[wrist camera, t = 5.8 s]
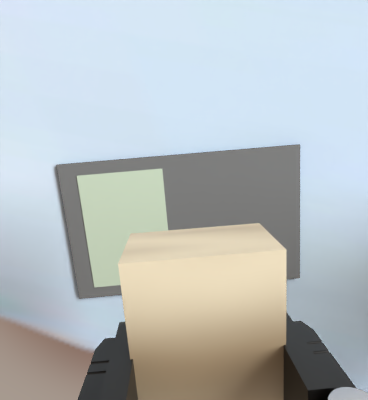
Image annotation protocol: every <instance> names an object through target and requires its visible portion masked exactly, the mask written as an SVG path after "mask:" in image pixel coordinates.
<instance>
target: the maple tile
mask: <svg viewBox="0 0 368 400" xmlns="http://www.w3.org/2000/svg"><path fill="white" fill-rule="evenodd" d="M118 268H119V276H120V284H121V291H122V299H123V307H124V315H125V323H126V331H127V338H128V346H129V354H130V359H133V364H134V372H135V379H136V387H137V395H138V400H284V345H286V249H285V248H284V247H283V246H282V245H281V244H280V243H279V242H278V241H277V240H276V239H275V238H274V237H273V236H272V235H271V234H270V233H269V232H268V231H267V230H266V229H265V228H264V227H263V226H262V225H261V224H260V223H253V224H241V225H229V226H217V227H204V228H192V229H180V230H168V231H155V232H143V233H131V234H130V236H129V239H128V241H127V243H126V246H125V248H124V251H123V253H122V255H121V258H120V260H119V263H118Z"/></svg>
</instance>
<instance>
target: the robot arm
mask: <svg viewBox="0 0 368 400" xmlns="http://www.w3.org/2000/svg"><path fill="white" fill-rule="evenodd" d="M78 400H138V395H137V387H136V379H135V372H134V364H133V359H130V354H129V346H128V338H127V331H126V323H125V322H120V323H119V327H118V330H117V334H116V337H115V338H107V339H104V340H103V341H102V343H101V344H100V345H99V346H98V347H97V348H96V349H95V352H94V355H93V358H92V361H91V365H90V366H89V369H88V372H87V375H86V378H85V380H84V383H83V386H82V389H81V392H80V395H79V397H78ZM284 400H368V393H367V392H365V391H363V390H360V389H357V388H356V387H355V386H354V384H353V383H352V382H351V380H350V379H349V378H348V376H347V375H346V373H345V372H344V371H343V369H342V368H341V367H340V365H339V364H338V363H337V361H336V360H335V359H334V357H333V356H332V354H331V353H329V352H328V349H327V348H326V346H325V345H324V344H323V343H322V342H321V340H320V338H319V337H318V335H317V334H316V333H315V331H314V330H313V329H311V328H310V327H309V326H307V325H306V324H304V323H303V322H301V321H295V322H293V321H292V320H291V318H290V317H289V315H288V314H287V312H286V345H284Z"/></svg>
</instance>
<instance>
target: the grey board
mask: <svg viewBox="0 0 368 400" xmlns="http://www.w3.org/2000/svg"><path fill="white" fill-rule="evenodd" d="M57 171H58V177H59V183H60V188H61V194H62V200H63V206H64V212H65V217H66V223H67V229H68V235H69V241H70V246H71V252H72V258H73V264H74V270H75V275H76V281H77V287H78V293H79V299H81V298H92V297H102V296H113V295H122V291H121V284H120V276H119V268H118V263H119V260H120V258H121V255H122V253H123V251H124V248H125V246H126V243H127V241H128V239H129V236H130V234H131V233H143V232H155V231H168V230H180V229H192V228H204V227H217V226H229V225H241V224H253V223H260V224H261V225H262V226H263V227H264V228H265V229H266V230H267V231H268V232H269V233H270V234H271V235H272V236H273V237H274V238H275V239H276V240H277V241H278V242H279V243H280V244H281V245H282V246H283V247H284V248H285V249H286V279H294V278H300V145H287V146H275V147H263V148H251V149H239V150H227V151H215V152H203V153H191V154H179V155H167V156H155V157H143V158H131V159H119V160H107V161H95V162H83V163H71V164H59V165H57Z"/></svg>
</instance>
